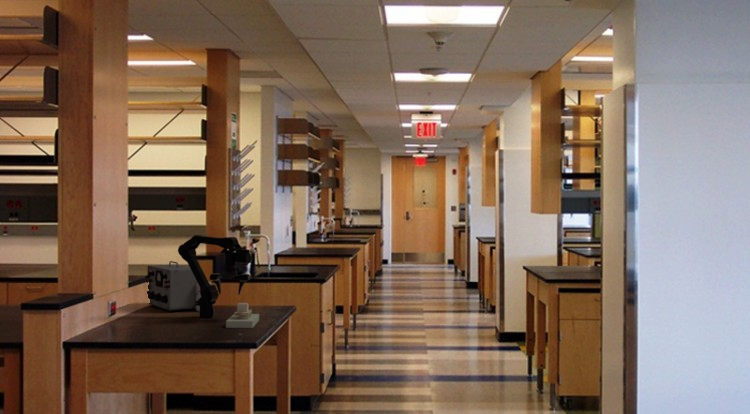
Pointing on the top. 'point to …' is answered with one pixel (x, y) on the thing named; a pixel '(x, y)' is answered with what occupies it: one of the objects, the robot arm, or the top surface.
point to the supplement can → (198, 296)
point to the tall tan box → (243, 314)
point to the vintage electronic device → (171, 287)
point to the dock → (242, 322)
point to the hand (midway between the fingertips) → (229, 294)
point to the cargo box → (242, 307)
